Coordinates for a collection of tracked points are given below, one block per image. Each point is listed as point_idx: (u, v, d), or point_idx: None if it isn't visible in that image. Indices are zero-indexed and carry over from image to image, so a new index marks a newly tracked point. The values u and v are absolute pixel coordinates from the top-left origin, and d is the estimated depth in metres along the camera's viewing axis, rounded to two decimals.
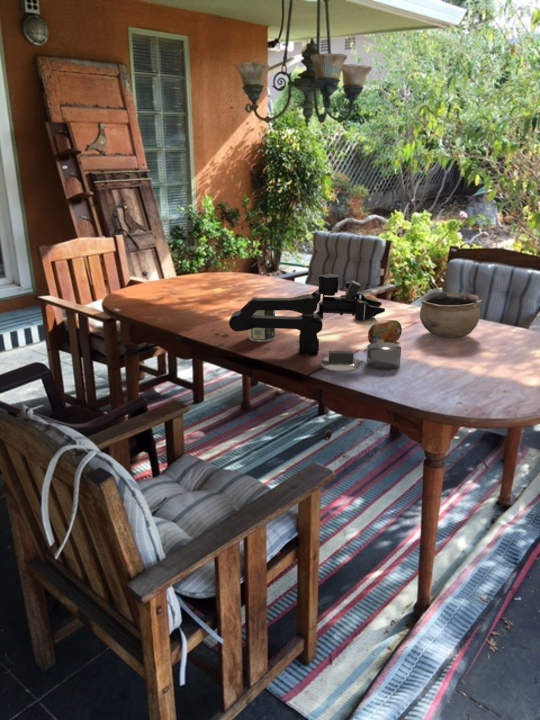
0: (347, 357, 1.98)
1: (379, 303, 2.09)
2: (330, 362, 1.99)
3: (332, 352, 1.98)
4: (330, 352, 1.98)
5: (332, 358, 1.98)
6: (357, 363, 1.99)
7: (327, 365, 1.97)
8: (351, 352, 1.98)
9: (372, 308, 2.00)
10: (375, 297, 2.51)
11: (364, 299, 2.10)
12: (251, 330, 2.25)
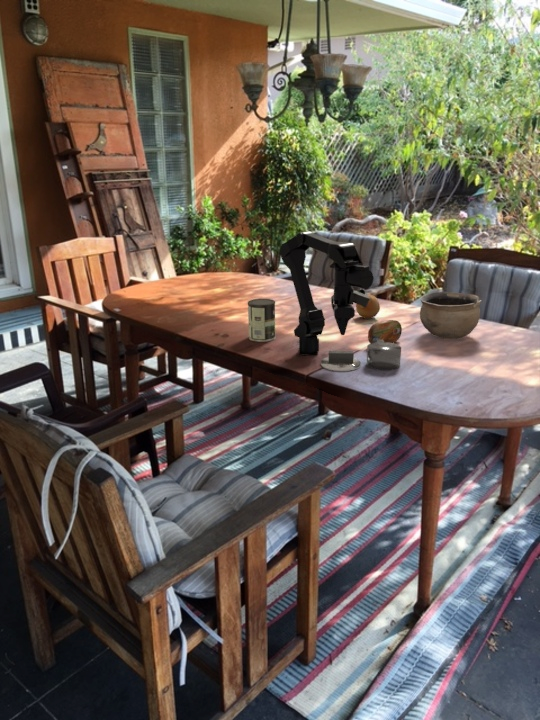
0: (347, 357, 1.98)
1: None
2: (330, 362, 1.99)
3: (332, 352, 1.98)
4: (330, 352, 1.98)
5: (332, 358, 1.98)
6: (357, 363, 1.99)
7: (327, 365, 1.97)
8: (351, 352, 1.98)
9: (345, 323, 1.89)
10: (375, 297, 2.51)
11: None
12: (251, 330, 2.25)
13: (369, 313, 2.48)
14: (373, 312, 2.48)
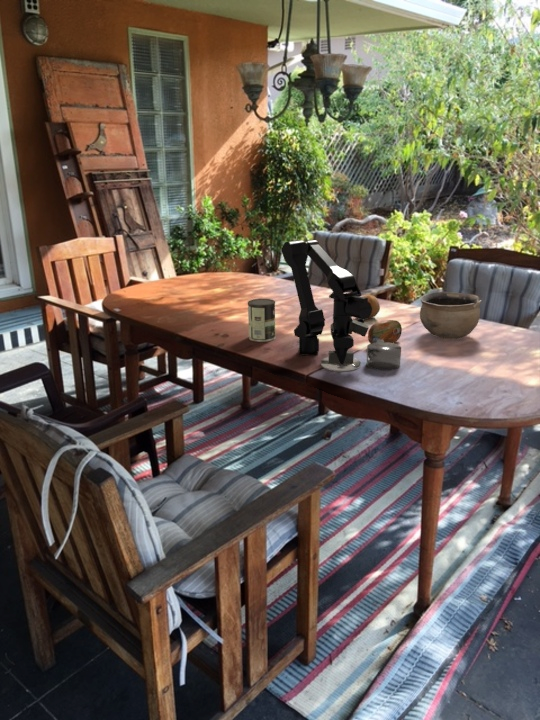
0: (347, 357, 1.98)
1: None
2: (330, 362, 1.99)
3: (332, 352, 1.98)
4: (330, 352, 1.98)
5: (332, 358, 1.98)
6: (357, 363, 1.99)
7: (327, 365, 1.97)
8: (351, 352, 1.98)
9: (344, 352, 1.92)
10: (375, 297, 2.51)
11: None
12: (251, 330, 2.25)
13: None
14: (373, 312, 2.48)
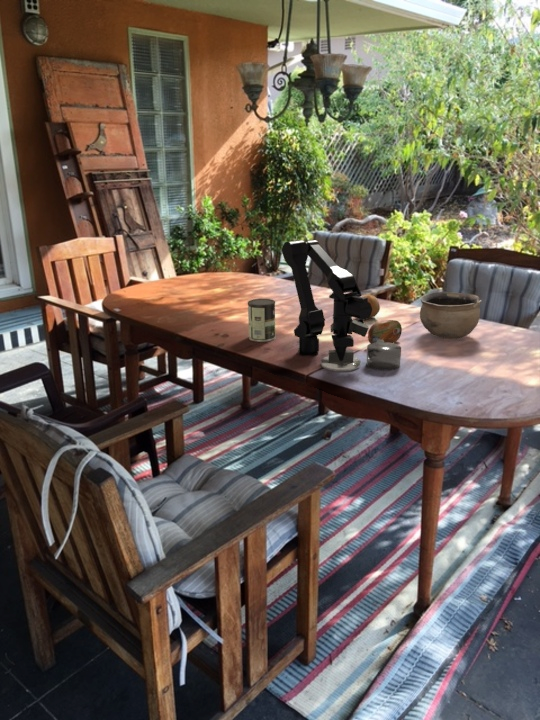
0: (347, 356, 1.98)
1: None
2: (330, 361, 1.98)
3: (332, 351, 1.98)
4: (330, 351, 1.98)
5: (332, 357, 1.98)
6: (357, 362, 1.99)
7: (327, 364, 1.97)
8: (351, 351, 1.98)
9: (344, 349, 1.95)
10: (375, 297, 2.51)
11: None
12: (251, 330, 2.25)
13: None
14: (373, 312, 2.48)
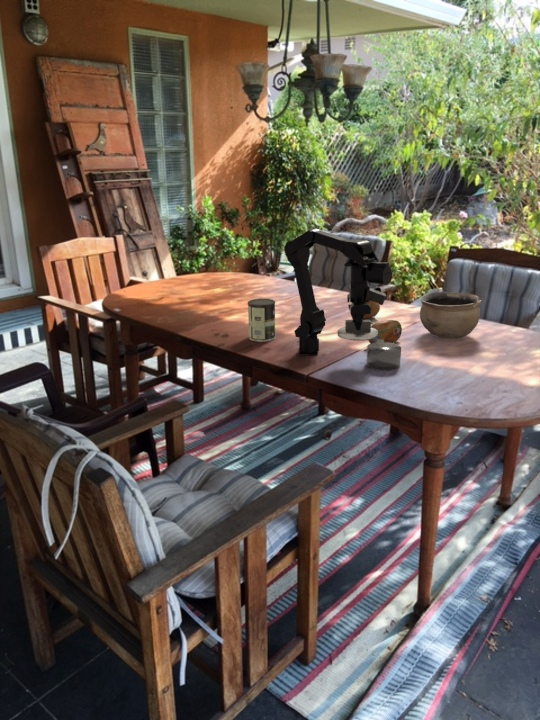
0: (364, 326, 1.94)
1: None
2: (347, 331, 1.95)
3: (349, 321, 1.94)
4: (347, 321, 1.94)
5: (349, 327, 1.94)
6: (374, 332, 1.95)
7: (344, 334, 1.93)
8: (368, 321, 1.94)
9: (361, 318, 1.91)
10: None
11: None
12: (251, 330, 2.25)
13: None
14: (373, 312, 2.48)
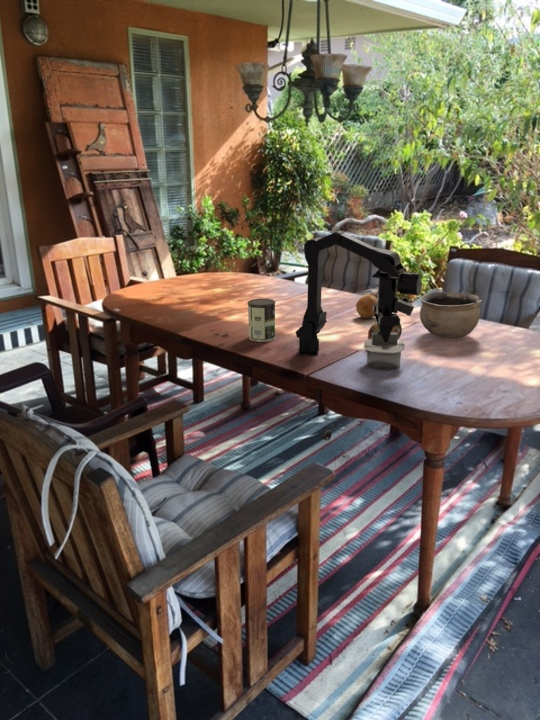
0: (391, 338, 1.95)
1: None
2: (374, 343, 1.96)
3: (376, 333, 1.96)
4: (374, 333, 1.96)
5: (376, 339, 1.95)
6: (401, 344, 1.96)
7: (371, 346, 1.94)
8: (395, 333, 1.96)
9: (389, 330, 1.91)
10: (375, 297, 2.51)
11: None
12: (251, 330, 2.25)
13: (369, 313, 2.48)
14: (373, 312, 2.48)
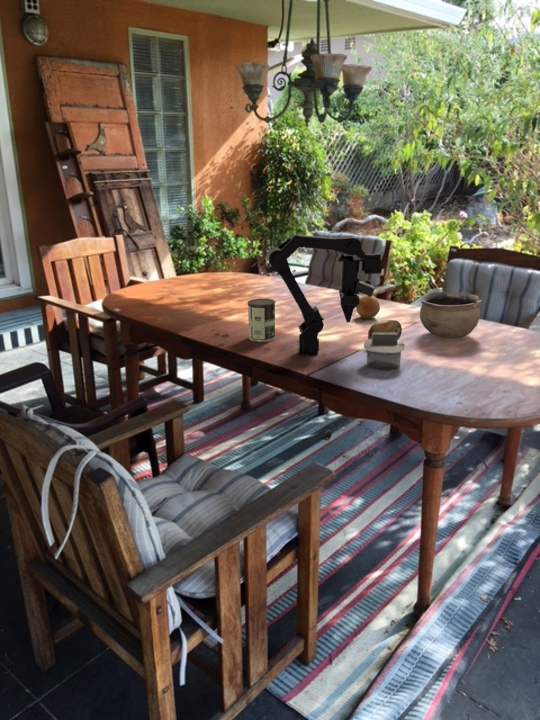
0: (391, 338, 1.95)
1: None
2: (374, 343, 1.96)
3: (376, 333, 1.96)
4: (374, 333, 1.96)
5: (376, 339, 1.95)
6: (401, 344, 1.96)
7: (371, 346, 1.94)
8: (395, 333, 1.96)
9: (351, 311, 2.02)
10: (375, 297, 2.51)
11: None
12: (251, 330, 2.25)
13: (369, 313, 2.48)
14: (373, 312, 2.48)
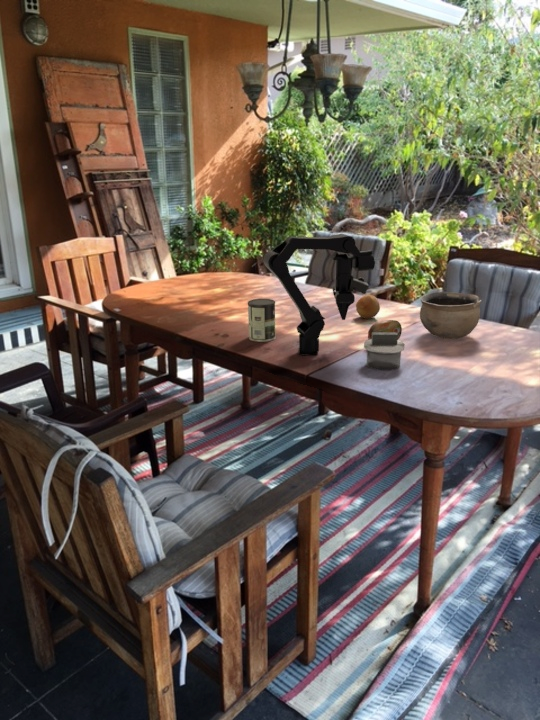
0: (391, 338, 1.95)
1: None
2: (374, 343, 1.96)
3: (376, 333, 1.96)
4: (374, 333, 1.96)
5: (376, 339, 1.95)
6: (401, 344, 1.96)
7: (371, 346, 1.94)
8: (395, 333, 1.96)
9: (346, 308, 2.04)
10: (375, 297, 2.51)
11: None
12: (251, 330, 2.25)
13: (369, 313, 2.48)
14: (373, 312, 2.48)
